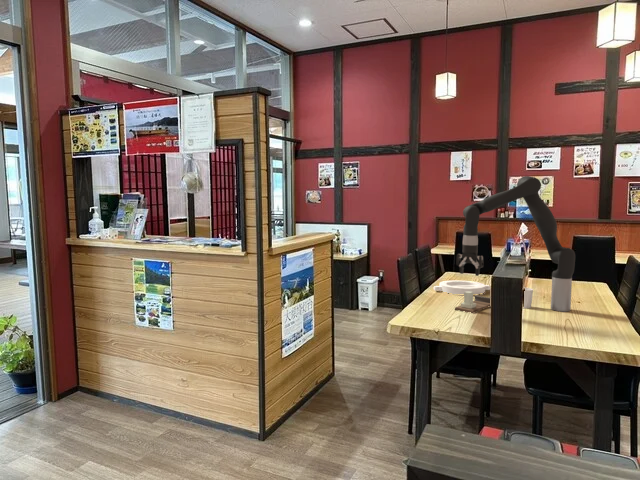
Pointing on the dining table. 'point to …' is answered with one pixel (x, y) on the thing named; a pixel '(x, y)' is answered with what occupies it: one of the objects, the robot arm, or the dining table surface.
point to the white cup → (528, 297)
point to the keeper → (468, 300)
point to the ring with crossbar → (461, 287)
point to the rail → (480, 304)
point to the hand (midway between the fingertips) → (469, 274)
